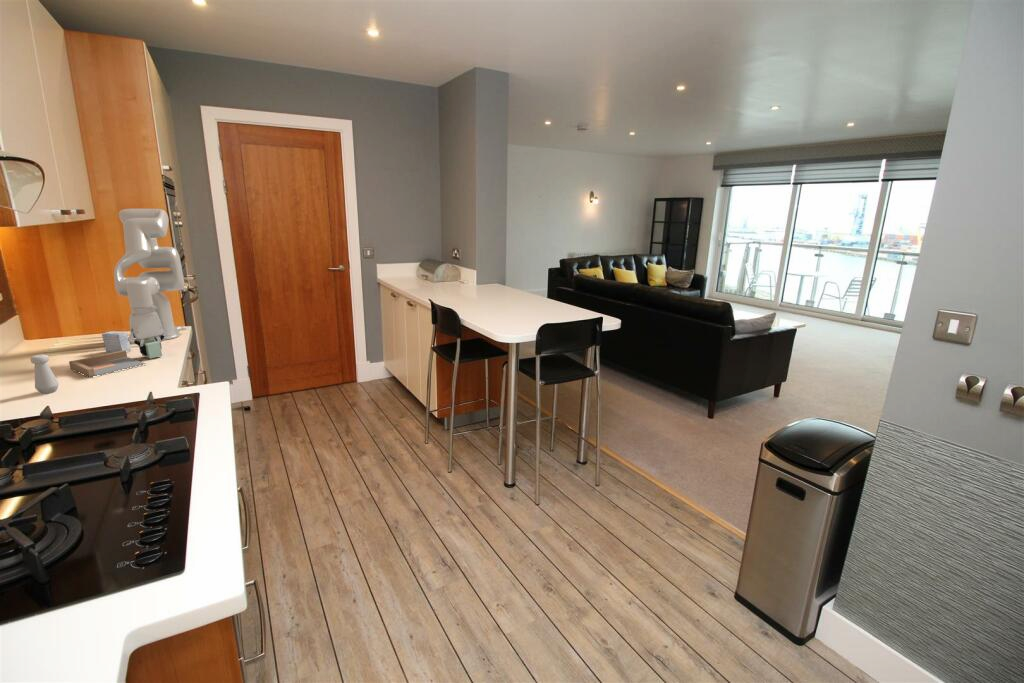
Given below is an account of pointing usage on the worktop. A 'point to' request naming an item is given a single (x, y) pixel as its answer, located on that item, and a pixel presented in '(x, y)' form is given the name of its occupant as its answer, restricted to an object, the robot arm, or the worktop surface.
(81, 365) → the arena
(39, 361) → the salt shaker
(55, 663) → the worktop surface
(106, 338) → the medicine box
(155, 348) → the green block
